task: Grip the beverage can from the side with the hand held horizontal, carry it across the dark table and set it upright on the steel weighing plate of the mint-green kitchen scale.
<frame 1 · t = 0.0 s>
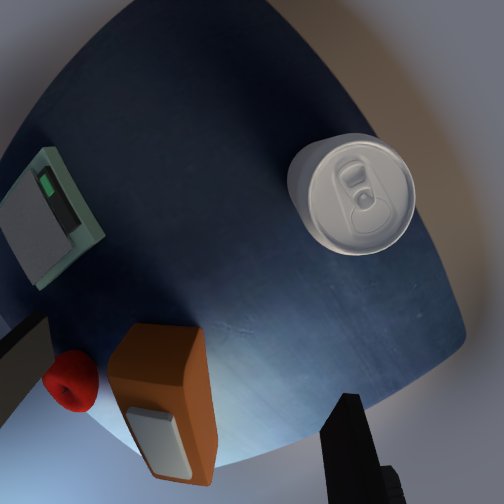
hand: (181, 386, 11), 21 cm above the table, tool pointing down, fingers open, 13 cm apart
scale: (48, 219, 31), on the table
weighing plate: (30, 229, 28), point 3 cm above the table, slide at 0.0 cm
beverage can: (327, 180, 28), on the table
alarm clock: (183, 389, 38), on the table
apple: (86, 362, 38), on the table
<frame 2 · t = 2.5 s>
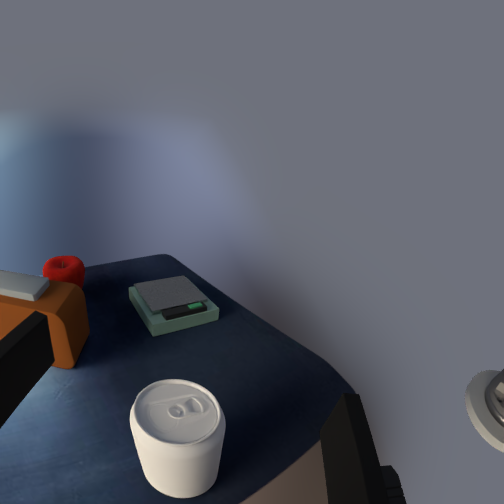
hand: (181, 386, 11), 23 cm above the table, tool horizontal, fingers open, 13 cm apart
scale: (171, 309, 55), on the table
weighing plate: (169, 292, 54), point 3 cm above the table, slide at 0.0 cm
beverage can: (180, 470, 25), on the table
alarm clock: (24, 341, 36), on the table
apple: (67, 297, 51), on the table
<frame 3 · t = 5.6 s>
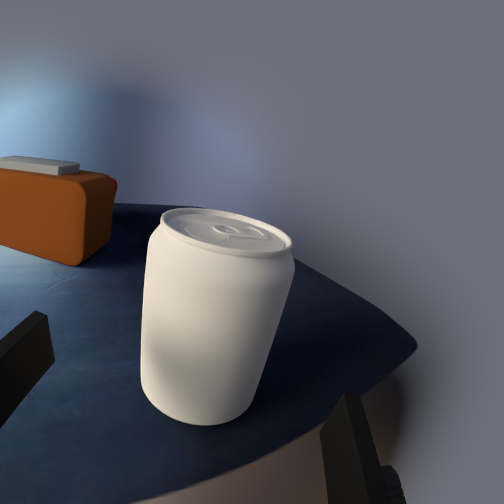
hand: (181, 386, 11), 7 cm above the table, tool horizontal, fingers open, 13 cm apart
beverage can: (196, 389, 20), on the table
alarm clock: (30, 241, 34), on the table
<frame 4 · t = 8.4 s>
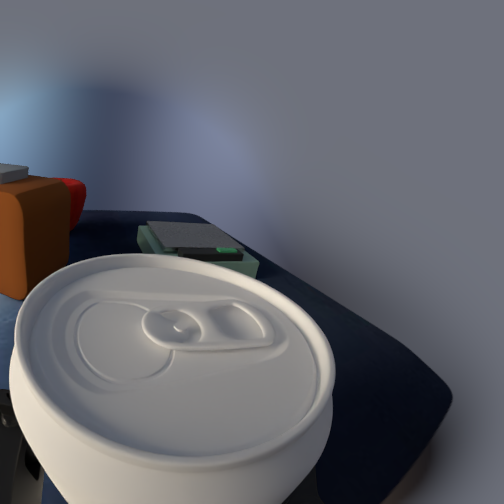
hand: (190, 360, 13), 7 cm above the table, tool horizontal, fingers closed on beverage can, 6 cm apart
scale: (191, 259, 41), on the table
weighing plate: (192, 235, 41), point 3 cm above the table, slide at 0.0 cm
apple: (57, 231, 39), on the table
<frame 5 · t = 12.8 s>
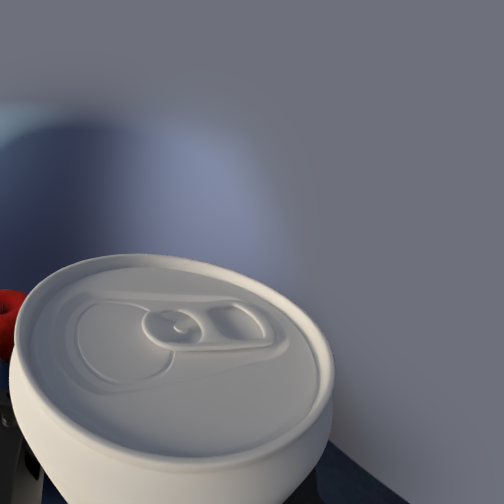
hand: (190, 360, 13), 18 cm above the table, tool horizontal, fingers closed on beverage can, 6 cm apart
apple: (14, 354, 27), on the table
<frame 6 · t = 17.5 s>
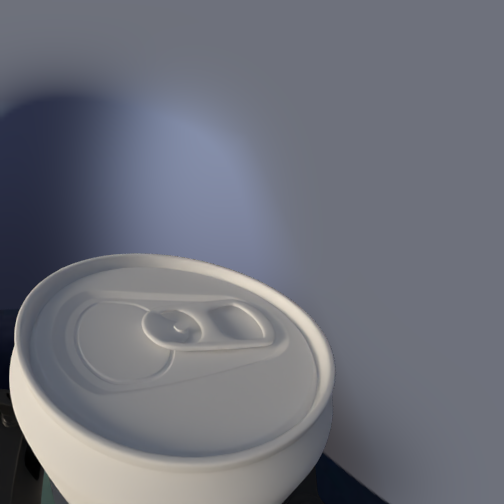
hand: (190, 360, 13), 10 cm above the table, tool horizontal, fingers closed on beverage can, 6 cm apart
weighing plate: (152, 492, 11), point 3 cm above the table, slide at -0.3 cm, touching beverage can
when the fingers open (10 cm above the table, at t = 17.5 s): beverage can stays where it is, resting on weighing plate.
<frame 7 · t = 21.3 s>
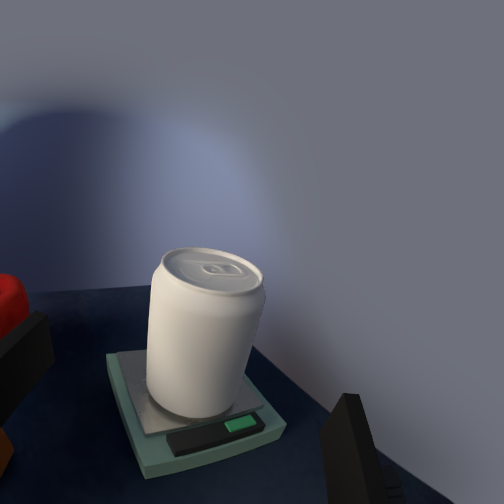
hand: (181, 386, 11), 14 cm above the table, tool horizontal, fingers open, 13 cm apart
scale: (187, 408, 25), on the table
weighing plate: (185, 382, 25), point 3 cm above the table, slide at -0.3 cm, touching beverage can
beverage can: (191, 389, 24), point 3 cm above the table, touching weighing plate
apple: (3, 347, 23), on the table
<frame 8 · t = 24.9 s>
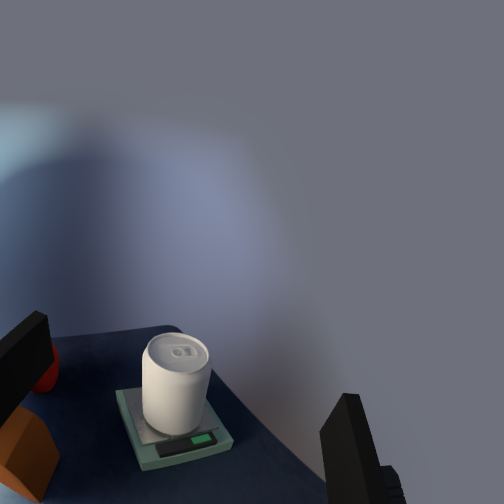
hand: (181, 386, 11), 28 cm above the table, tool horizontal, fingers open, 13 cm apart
scale: (170, 426, 36), on the table
weighing plate: (168, 410, 36), point 3 cm above the table, slide at -0.3 cm, touching beverage can
beverage can: (171, 415, 35), point 3 cm above the table, touching weighing plate
apple: (40, 384, 34), on the table
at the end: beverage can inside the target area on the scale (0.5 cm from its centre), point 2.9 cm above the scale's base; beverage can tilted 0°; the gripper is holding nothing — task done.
